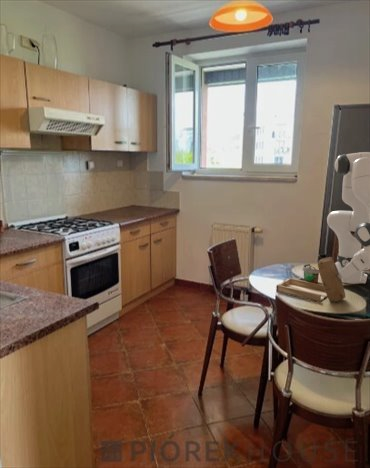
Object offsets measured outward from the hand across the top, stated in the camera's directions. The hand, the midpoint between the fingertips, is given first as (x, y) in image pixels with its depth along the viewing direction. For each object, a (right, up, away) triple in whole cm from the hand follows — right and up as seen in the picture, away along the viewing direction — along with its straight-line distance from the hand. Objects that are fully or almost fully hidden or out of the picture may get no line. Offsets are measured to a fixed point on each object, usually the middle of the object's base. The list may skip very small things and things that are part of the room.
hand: (339, 276), depth 166 cm
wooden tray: (-12, -10, +14) cm, 21 cm away
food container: (-6, -8, +26) cm, 28 cm away
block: (+1, -11, +3) cm, 11 cm away
